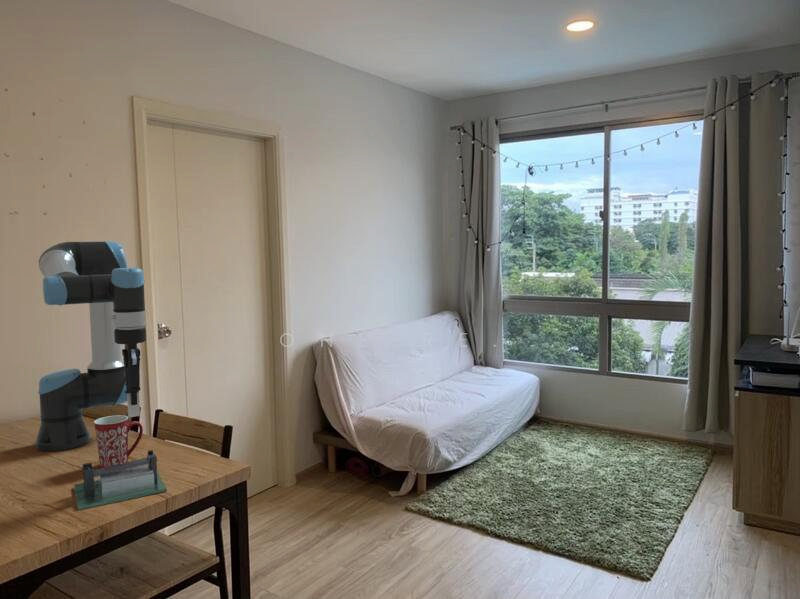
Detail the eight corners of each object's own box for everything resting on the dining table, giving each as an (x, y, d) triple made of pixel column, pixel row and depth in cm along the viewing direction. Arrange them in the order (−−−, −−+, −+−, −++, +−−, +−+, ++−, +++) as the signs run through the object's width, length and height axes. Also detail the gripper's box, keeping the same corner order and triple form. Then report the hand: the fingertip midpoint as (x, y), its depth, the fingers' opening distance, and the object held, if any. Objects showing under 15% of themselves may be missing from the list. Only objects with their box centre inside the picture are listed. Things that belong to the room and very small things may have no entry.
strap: (86, 479, 148) (85, 473, 148) (85, 476, 150) (84, 469, 150) (157, 462, 156) (156, 456, 156) (155, 459, 159) (154, 453, 159)
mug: (96, 473, 165) (93, 425, 164) (95, 463, 173) (93, 417, 172) (145, 465, 171) (143, 419, 170) (142, 455, 179) (140, 411, 178)
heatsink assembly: (77, 509, 141) (76, 477, 141) (74, 487, 155) (72, 457, 154) (166, 491, 152) (165, 460, 151) (156, 472, 165) (154, 443, 165)
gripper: (111, 325, 158) (115, 411, 161) (116, 331, 147) (121, 424, 150) (141, 323, 162) (145, 407, 165) (149, 329, 151) (153, 420, 153)
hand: (134, 415), depth 157 cm, fingers closed
